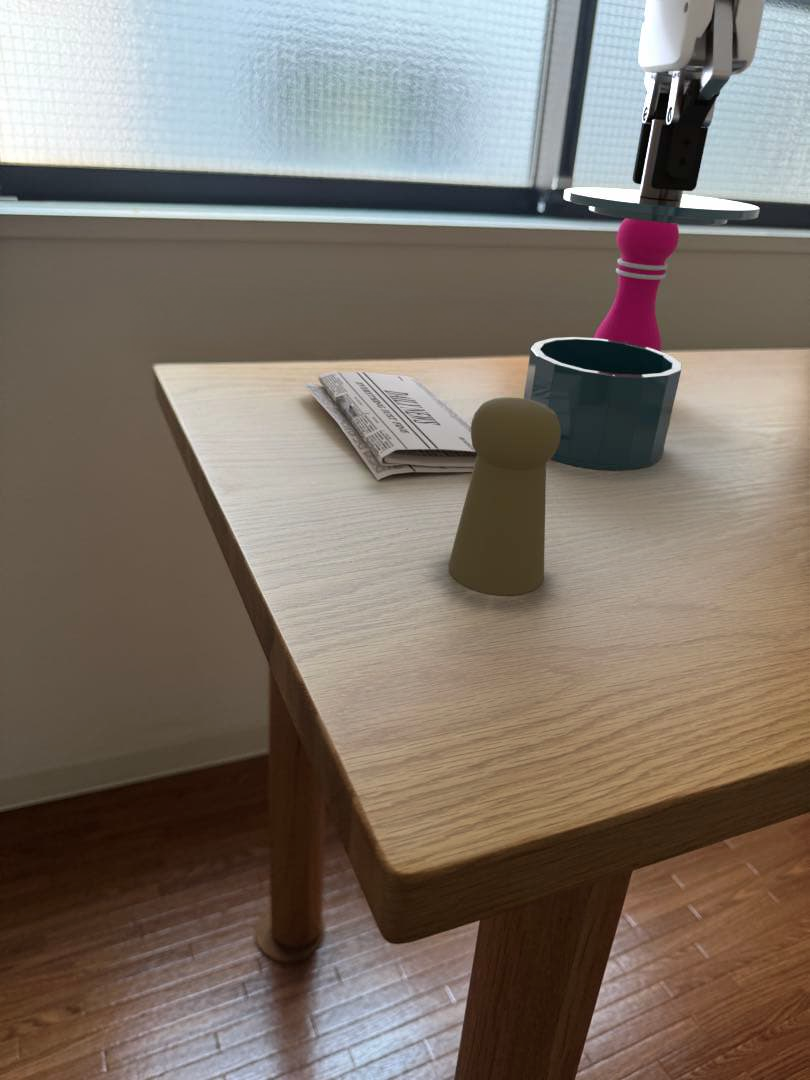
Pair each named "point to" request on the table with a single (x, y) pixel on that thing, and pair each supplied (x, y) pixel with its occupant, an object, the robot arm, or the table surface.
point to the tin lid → (660, 200)
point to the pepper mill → (639, 282)
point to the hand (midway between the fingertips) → (662, 184)
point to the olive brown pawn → (506, 498)
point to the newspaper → (396, 423)
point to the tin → (605, 399)
